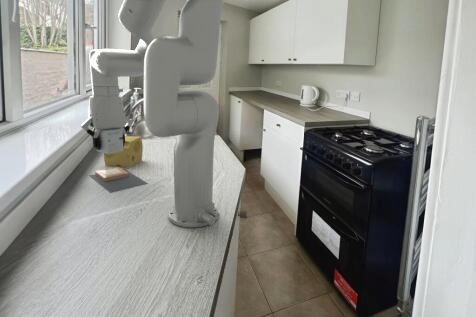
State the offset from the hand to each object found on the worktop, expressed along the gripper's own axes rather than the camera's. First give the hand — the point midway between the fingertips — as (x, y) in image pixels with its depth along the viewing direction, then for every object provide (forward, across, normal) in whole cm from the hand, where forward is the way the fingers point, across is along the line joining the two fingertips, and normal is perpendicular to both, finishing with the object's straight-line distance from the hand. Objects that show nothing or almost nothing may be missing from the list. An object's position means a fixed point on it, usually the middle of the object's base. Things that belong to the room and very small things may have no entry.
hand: (109, 147), depth 99 cm
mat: (+10, 0, +5) cm, 11 cm away
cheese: (+11, -9, -11) cm, 18 cm away
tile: (+9, 0, +4) cm, 10 cm away
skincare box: (+2, 0, 0) cm, 2 cm away
